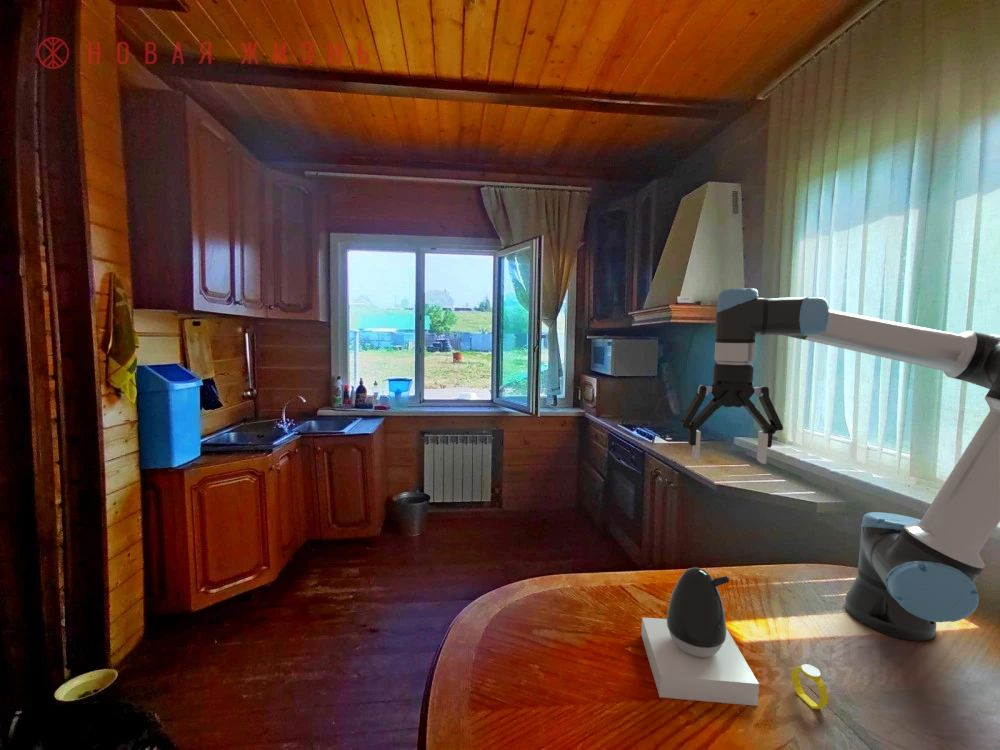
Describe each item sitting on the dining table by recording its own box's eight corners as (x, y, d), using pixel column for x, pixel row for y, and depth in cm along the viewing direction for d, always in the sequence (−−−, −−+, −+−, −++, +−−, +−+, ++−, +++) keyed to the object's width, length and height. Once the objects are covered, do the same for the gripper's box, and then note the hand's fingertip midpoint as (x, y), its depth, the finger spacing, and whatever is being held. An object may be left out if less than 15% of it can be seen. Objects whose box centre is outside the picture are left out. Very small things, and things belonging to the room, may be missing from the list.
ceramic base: (722, 641, 93) (723, 623, 92) (757, 705, 77) (759, 683, 77) (641, 635, 95) (642, 617, 94) (659, 697, 79) (660, 675, 78)
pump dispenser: (733, 671, 79) (738, 588, 78) (670, 662, 82) (673, 581, 80) (718, 633, 89) (722, 559, 88) (662, 625, 91) (665, 553, 90)
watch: (829, 715, 76) (835, 684, 75) (815, 718, 75) (820, 686, 74) (799, 685, 81) (803, 655, 80) (786, 687, 81) (790, 658, 80)
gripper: (787, 362, 99) (780, 458, 101) (668, 361, 102) (664, 454, 104) (806, 365, 92) (799, 468, 94) (677, 363, 94) (673, 464, 97)
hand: (728, 461), depth 99 cm, fingers open, 13 cm apart
